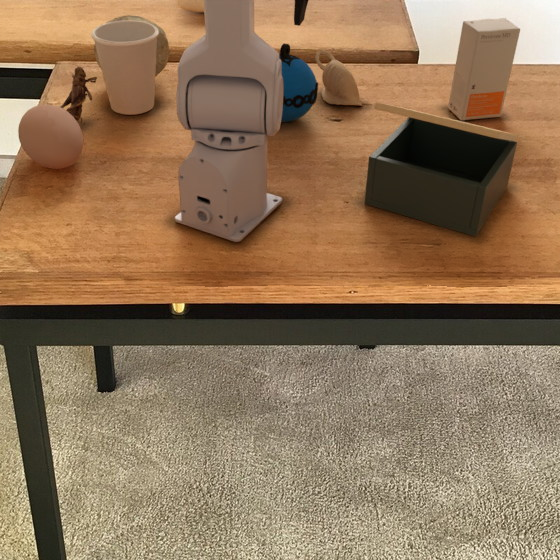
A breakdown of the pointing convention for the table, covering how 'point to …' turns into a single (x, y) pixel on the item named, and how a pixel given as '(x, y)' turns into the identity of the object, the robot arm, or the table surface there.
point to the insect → (78, 93)
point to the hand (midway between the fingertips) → (271, 17)
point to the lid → (447, 122)
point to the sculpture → (161, 48)
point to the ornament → (296, 86)
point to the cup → (191, 5)
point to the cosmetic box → (483, 68)
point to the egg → (50, 136)
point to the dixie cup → (128, 64)
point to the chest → (439, 175)
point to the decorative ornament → (338, 82)
